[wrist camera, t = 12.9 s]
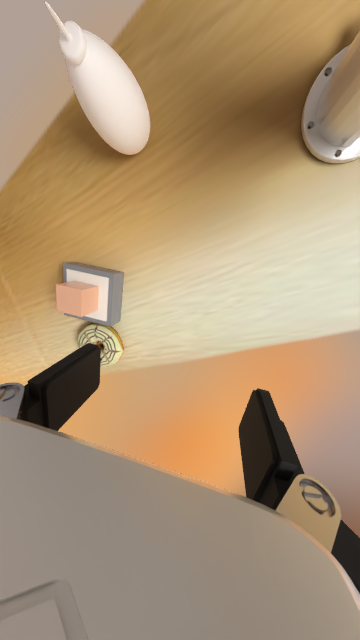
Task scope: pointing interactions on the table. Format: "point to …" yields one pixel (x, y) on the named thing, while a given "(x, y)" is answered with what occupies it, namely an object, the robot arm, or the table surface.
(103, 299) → the grey flat square block
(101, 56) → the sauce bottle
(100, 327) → the decorated donut
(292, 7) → the table surface
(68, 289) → the terracotta cube
